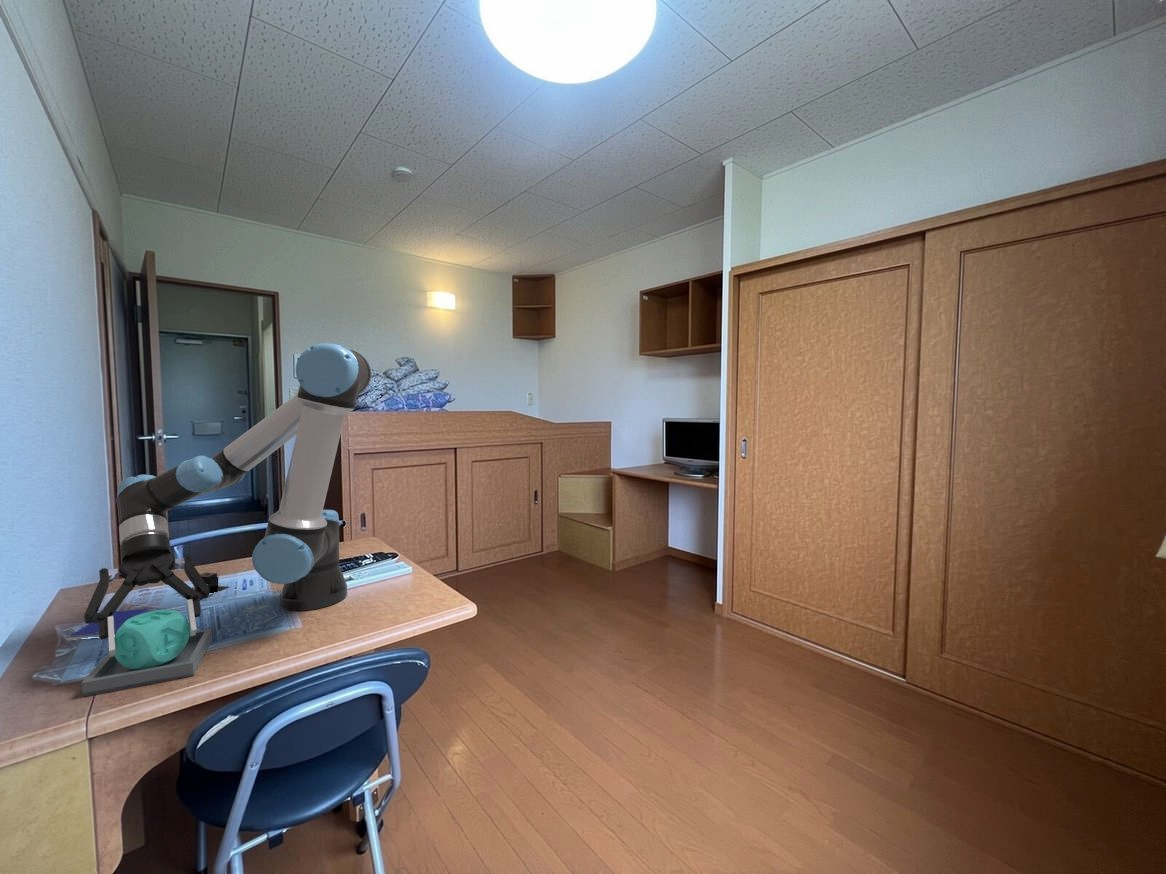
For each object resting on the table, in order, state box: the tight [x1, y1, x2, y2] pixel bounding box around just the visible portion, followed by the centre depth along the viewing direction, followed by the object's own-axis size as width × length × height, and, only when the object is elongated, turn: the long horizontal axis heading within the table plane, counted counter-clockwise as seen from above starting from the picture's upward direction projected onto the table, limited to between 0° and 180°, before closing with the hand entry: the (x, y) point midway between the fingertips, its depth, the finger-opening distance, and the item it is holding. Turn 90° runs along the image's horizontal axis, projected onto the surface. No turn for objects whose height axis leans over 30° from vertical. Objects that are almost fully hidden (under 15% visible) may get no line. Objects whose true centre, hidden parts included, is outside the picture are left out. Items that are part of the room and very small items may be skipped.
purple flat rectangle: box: [66, 608, 151, 641], centre depth 107 cm, size 2×8×12 cm
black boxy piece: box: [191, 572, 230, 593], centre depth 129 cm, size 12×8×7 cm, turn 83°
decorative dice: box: [114, 608, 190, 669], centre depth 91 cm, size 8×8×8 cm
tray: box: [81, 628, 213, 698], centre depth 92 cm, size 15×15×2 cm
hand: (154, 642), depth 89 cm, fingers closed on decorative dice, 11 cm apart
